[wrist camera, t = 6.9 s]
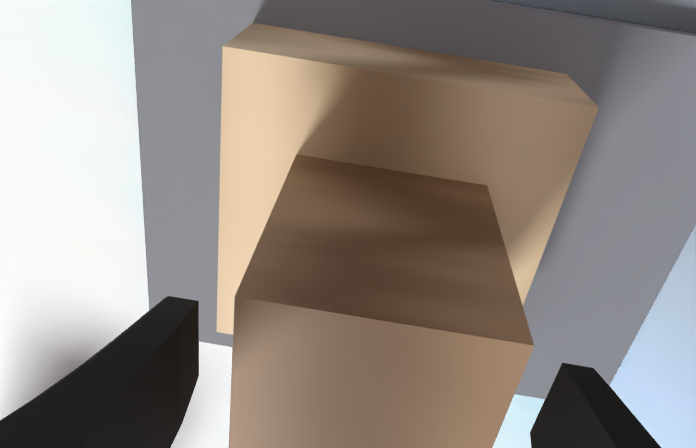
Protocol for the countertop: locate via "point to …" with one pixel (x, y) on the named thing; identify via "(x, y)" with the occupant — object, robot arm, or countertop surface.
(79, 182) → the countertop surface
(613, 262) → the slate mat
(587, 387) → the robot arm
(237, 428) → the walnut block
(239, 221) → the oak base
